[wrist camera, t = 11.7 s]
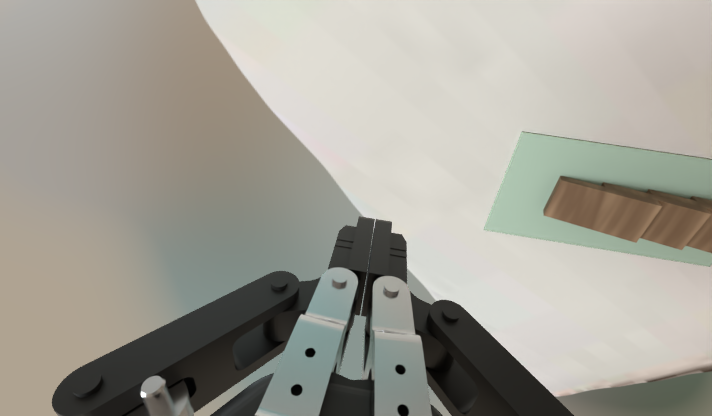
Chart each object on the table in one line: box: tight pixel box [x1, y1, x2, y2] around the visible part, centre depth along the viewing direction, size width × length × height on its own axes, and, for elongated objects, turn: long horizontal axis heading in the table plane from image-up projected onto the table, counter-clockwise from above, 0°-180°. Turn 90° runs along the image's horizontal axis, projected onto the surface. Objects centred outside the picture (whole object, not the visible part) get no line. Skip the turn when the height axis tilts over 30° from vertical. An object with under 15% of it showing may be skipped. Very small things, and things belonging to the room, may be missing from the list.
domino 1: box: [543, 176, 662, 243], centre depth 38 cm, size 2×5×10 cm
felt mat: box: [484, 132, 712, 267], centre depth 40 cm, size 30×14×1 cm, turn 83°
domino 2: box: [601, 182, 711, 250], centre depth 38 cm, size 2×5×10 cm
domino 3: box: [646, 189, 712, 253], centre depth 38 cm, size 2×5×10 cm
